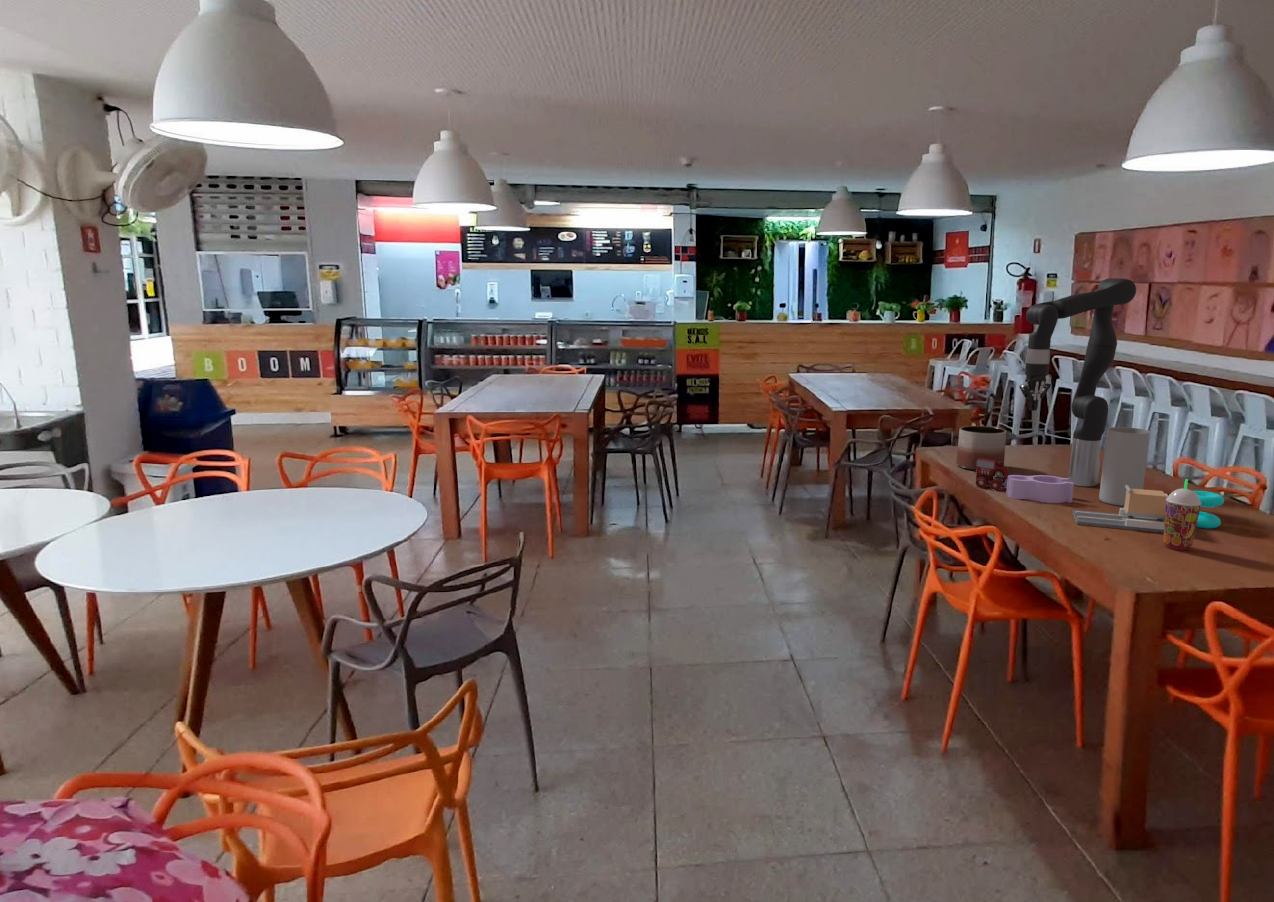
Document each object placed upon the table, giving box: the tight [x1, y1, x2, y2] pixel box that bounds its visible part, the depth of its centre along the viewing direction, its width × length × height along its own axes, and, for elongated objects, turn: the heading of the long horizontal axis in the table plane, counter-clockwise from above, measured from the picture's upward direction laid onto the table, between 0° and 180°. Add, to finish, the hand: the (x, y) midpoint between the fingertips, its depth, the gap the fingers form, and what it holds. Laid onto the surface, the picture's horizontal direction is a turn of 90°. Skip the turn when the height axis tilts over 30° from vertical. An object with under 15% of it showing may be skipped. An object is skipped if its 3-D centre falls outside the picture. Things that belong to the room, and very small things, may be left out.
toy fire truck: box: [975, 458, 1011, 491], centre depth 294 cm, size 7×12×10 cm, turn 46°
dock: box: [1072, 493, 1169, 534], centre depth 250 cm, size 14×25×9 cm, turn 67°
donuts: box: [1192, 490, 1225, 529], centre depth 248 cm, size 10×10×10 cm
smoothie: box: [1163, 478, 1202, 551], centre depth 226 cm, size 8×8×20 cm
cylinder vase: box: [1098, 426, 1151, 507], centre depth 272 cm, size 12×12×25 cm
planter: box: [956, 425, 1007, 472], centre depth 325 cm, size 18×18×16 cm
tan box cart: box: [1122, 485, 1167, 522], centre depth 248 cm, size 8×10×10 cm
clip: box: [1005, 474, 1075, 504], centre depth 280 cm, size 20×12×7 cm, turn 74°
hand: (1032, 410), depth 287 cm, fingers closed
